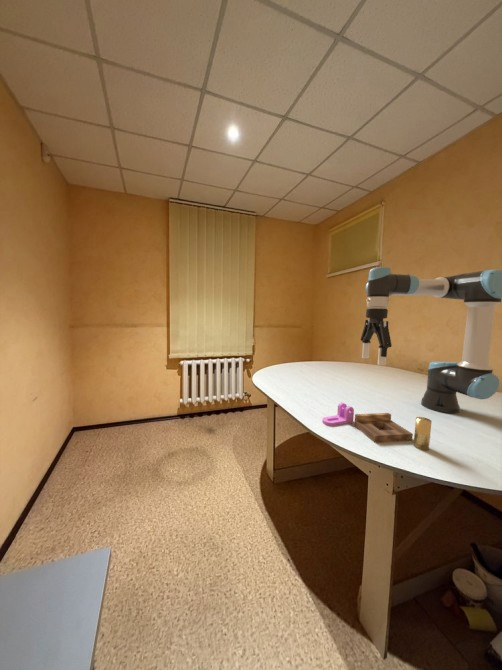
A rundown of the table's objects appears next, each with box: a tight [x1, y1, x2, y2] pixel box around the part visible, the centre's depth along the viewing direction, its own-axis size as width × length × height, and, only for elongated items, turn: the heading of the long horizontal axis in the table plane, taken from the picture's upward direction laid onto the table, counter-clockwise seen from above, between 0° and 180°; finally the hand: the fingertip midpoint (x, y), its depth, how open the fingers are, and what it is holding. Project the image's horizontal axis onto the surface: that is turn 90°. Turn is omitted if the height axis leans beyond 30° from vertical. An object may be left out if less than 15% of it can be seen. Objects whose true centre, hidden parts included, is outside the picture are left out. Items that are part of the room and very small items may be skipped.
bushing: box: [413, 416, 433, 452], centre depth 85 cm, size 4×4×10 cm
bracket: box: [321, 402, 355, 427], centre depth 104 cm, size 13×6×7 cm, turn 111°
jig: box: [353, 412, 414, 443], centre depth 95 cm, size 15×13×5 cm
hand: (373, 361), depth 98 cm, fingers open, 13 cm apart
